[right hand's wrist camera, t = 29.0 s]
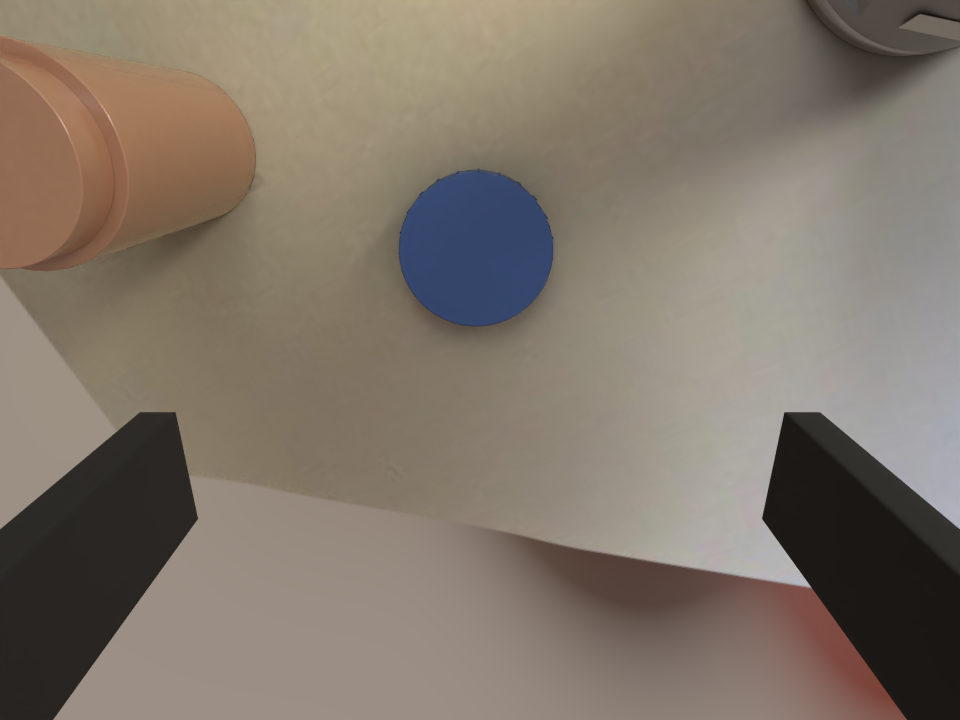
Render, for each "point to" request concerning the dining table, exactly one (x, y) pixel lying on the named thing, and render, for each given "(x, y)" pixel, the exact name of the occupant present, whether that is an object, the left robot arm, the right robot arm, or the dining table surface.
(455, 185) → the lid
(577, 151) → the dining table surface
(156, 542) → the right robot arm
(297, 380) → the dining table surface
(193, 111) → the jar
